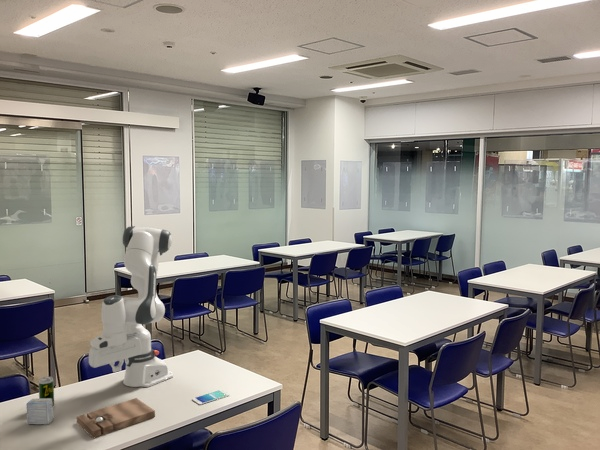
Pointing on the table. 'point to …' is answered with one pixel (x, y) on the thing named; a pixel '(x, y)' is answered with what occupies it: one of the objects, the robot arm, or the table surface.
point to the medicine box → (39, 411)
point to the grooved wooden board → (115, 417)
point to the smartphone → (209, 397)
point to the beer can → (46, 388)
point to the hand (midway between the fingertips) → (117, 371)
